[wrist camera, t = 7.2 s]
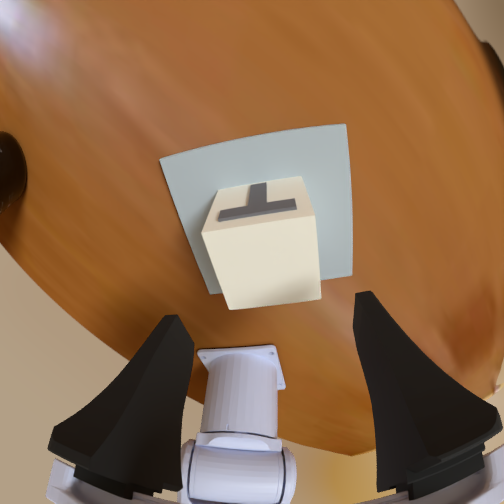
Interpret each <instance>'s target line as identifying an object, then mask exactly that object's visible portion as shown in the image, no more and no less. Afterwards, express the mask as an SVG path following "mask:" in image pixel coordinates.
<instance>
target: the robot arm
mask: <svg viewBox="0 0 504 504" xmlns="http://www.w3.org/2000/svg"><path fill="white" fill-rule="evenodd" d="M353 331H354V337H355V342H356V347H357V351H358V355H359V358H360V362H361V365H362V369H363V372H364V376H365V379H366V383H367V386H368V390H369V394H370V398H371V403H372V410H373V418H374V427H375V438H376V454H377V455H376V456H377V492H382V491H386V490H390V489H394V488H396V494H393V495H389V496H386V497H382V498H378V499H374V500H370V501H365V502H361V503H356V504H499V503H501V502H502V501H503V500H504V444H503V445H501V446H499V447H498V448H496V449H494V450H493V451H491V452H489V453H487V454H485V455H482V451H484V450H485V445H484V442H485V441H487V440H489V439H490V438H492V437H493V436H495V435H496V434H498V433H499V432H501V431H502V429H503V426H502V422H501V418H500V415H499V413H498V410H497V408H496V407H494V406H493V405H491V404H489V403H487V402H486V401H484V400H482V399H481V398H479V397H478V396H476V395H474V394H473V393H472V392H470V391H469V390H467V389H466V388H464V387H463V386H462V385H460V384H459V383H458V382H457V381H455V380H454V379H453V378H451V377H450V376H449V375H448V374H446V373H445V372H444V371H443V370H442V369H441V368H439V367H438V366H437V365H436V364H435V363H434V362H433V361H432V360H431V359H430V358H428V357H427V356H426V355H425V354H424V353H423V352H422V351H421V350H420V349H419V347H418V346H417V345H416V344H415V343H414V342H413V341H412V340H411V339H410V338H409V337H408V336H407V334H406V333H405V332H404V331H403V330H402V329H401V328H400V326H399V325H398V324H397V323H396V322H395V321H394V319H393V318H392V317H391V316H390V314H389V313H388V312H387V311H386V309H385V308H384V307H383V306H382V304H381V303H380V302H379V300H378V299H377V298H376V296H375V295H374V294H373V292H371V291H365V292H360V293H355V306H354V318H353ZM197 355H198V356H199V358H200V359H201V361H202V362H203V364H204V365H205V367H206V368H207V370H208V371H209V376H208V382H207V389H206V395H205V402H204V408H203V415H202V423H201V429H200V433H199V432H198V433H197V436H196V440H193V439H189V440H188V441H187V442H186V443H184V444H183V445H182V447H181V429H182V416H183V409H184V403H185V399H186V394H187V390H188V385H189V380H190V376H191V371H192V366H193V356H194V342H193V340H192V339H191V337H190V335H189V334H188V332H187V330H186V329H185V327H184V325H183V323H182V322H181V320H180V318H179V316H178V315H165V316H164V317H163V318H162V320H161V321H160V322H159V324H158V325H157V326H156V328H155V329H154V330H153V332H152V333H151V334H150V336H149V337H148V338H147V340H146V341H145V342H144V344H143V345H142V346H141V348H140V349H139V350H138V352H137V353H136V354H135V355H134V357H133V358H132V359H131V360H130V362H129V363H128V364H127V365H126V367H125V368H124V369H123V370H122V371H121V372H120V374H119V375H118V376H117V377H116V378H115V379H114V380H113V381H112V382H111V383H110V384H109V385H108V387H106V388H105V389H104V390H103V391H102V392H101V393H100V394H99V395H98V396H97V397H95V398H94V399H93V400H92V401H91V402H90V403H89V404H88V405H86V406H85V407H84V408H82V409H81V410H80V411H78V412H77V413H76V414H74V415H73V416H71V417H70V418H68V419H66V420H65V421H63V422H61V423H60V424H58V425H56V426H54V429H53V432H52V434H51V438H50V441H49V445H48V450H49V451H51V452H52V453H54V454H56V455H58V456H60V457H62V458H64V459H66V460H68V461H70V462H72V463H74V464H76V467H75V468H74V467H72V466H70V465H68V464H66V463H64V462H62V461H60V460H58V459H54V463H53V466H52V470H51V474H50V478H49V483H48V487H47V491H46V497H47V498H48V499H50V500H51V501H52V502H54V503H55V504H290V501H291V498H292V497H293V495H294V492H295V486H296V475H297V474H296V473H297V472H296V462H295V458H294V455H293V454H292V453H291V452H290V451H289V449H288V448H287V447H282V440H281V439H277V390H280V389H285V388H286V385H285V381H284V377H283V373H282V369H281V366H280V362H279V358H278V354H277V350H276V347H275V346H274V345H264V346H253V347H240V348H224V349H202V350H198V352H197ZM162 489H166V490H170V491H175V492H178V496H177V497H178V498H177V502H173V501H168V500H164V499H160V498H156V497H153V493H154V492H157V493H162Z"/></svg>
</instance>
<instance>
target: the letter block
mask: <svg viewBox="0 0 504 504" xmlns="http://www.w3.org/2000/svg"><path fill="white" fill-rule="evenodd" d="M201 234H202V237H203V239H204V242H205V245H206V248H207V251H208V254H209V256H210V259H211V262H212V265H213V267H214V270H215V273H216V276H217V278H218V281H219V284H220V286H221V289H222V292H223V294H224V297H225V300H226V302H227V305H228V307H229V310H235V309H245V308H254V307H263V306H272V305H280V304H288V303H296V302H303V301H310V300H317V299H321V285H320V268H319V254H318V241H317V229H316V219H315V213H314V210H313V207H312V204H311V202H310V199H309V196H308V193H307V190H306V187H305V185H304V182H303V179H302V176H297V177H290V178H283V179H277V180H271V181H264V182H259V183H253V184H247V185H241V186H236V187H231V188H225V189H220V190H218V192H217V194H216V197H215V199H214V202H213V204H212V207H211V209H210V212H209V214H208V217H207V219H206V222H205V224H204V227H203V230H202V232H201Z"/></svg>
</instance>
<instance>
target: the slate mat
mask: <svg viewBox="0 0 504 504" xmlns="http://www.w3.org/2000/svg"><path fill="white" fill-rule="evenodd" d="M159 160H160V163H161V166H162V169H163V172H164V175H165V178H166V181H167V184H168V187H169V189H170V192H171V195H172V198H173V201H174V203H175V206H176V209H177V212H178V214H179V217H180V220H181V222H182V225H183V228H184V230H185V233H186V236H187V238H188V241H189V243H190V246H191V249H192V251H193V254H194V256H195V259H196V261H197V264H198V266H199V269H200V271H201V273H202V276H203V278H204V281H205V283H206V286H207V288H208V290H209V293H210V294H218V293H223V292H222V289H221V286H220V284H219V281H218V278H217V276H216V273H215V270H214V267H213V265H212V262H211V259H210V256H209V254H208V251H207V248H206V245H205V242H204V239H203V237H202V234H201V232H202V230H203V227H204V224H205V222H206V219H207V217H208V214H209V212H210V209H211V207H212V204H213V202H214V199H215V197H216V194H217V192H218V190H220V189H225V188H231V187H236V186H241V185H247V184H253V183H259V182H264V181H271V180H277V179H283V178H290V177H297V176H302V179H303V182H304V185H305V187H306V190H307V193H308V196H309V199H310V202H311V204H312V207H313V210H314V213H315V219H316V229H317V241H318V254H319V268H320V280H326V279H332V278H339V277H345V276H351V275H352V256H353V225H352V193H351V175H350V161H349V150H348V139H347V130H346V124H333V125H323V126H314V127H306V128H298V129H291V130H284V131H278V132H272V133H266V134H260V135H255V136H249V137H244V138H239V139H235V140H230V141H225V142H221V143H216V144H212V145H208V146H204V147H200V148H196V149H192V150H188V151H185V152H181V153H177V154H174V155H170V156H167V157H163V158H161V159H159Z"/></svg>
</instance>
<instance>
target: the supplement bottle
mask: <svg viewBox="0 0 504 504" xmlns="http://www.w3.org/2000/svg"><path fill="white" fill-rule="evenodd" d="M25 184H26V164H25V159H24V155H23V152H22V150H21V147H20V145H19V143H18V142H17V141H16V139H15V138H14V137H13V136H12V135H11V134H9V133H7V132H3V131H0V214H1V213H3V212H4V211H5V210H6V209H7V208H8V207H10V206H11V205H12V204H13V203H14V202H15V201H17V200H18V199H19V198H20V196H21V195H22V193H23V191H24V188H25Z"/></svg>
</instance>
